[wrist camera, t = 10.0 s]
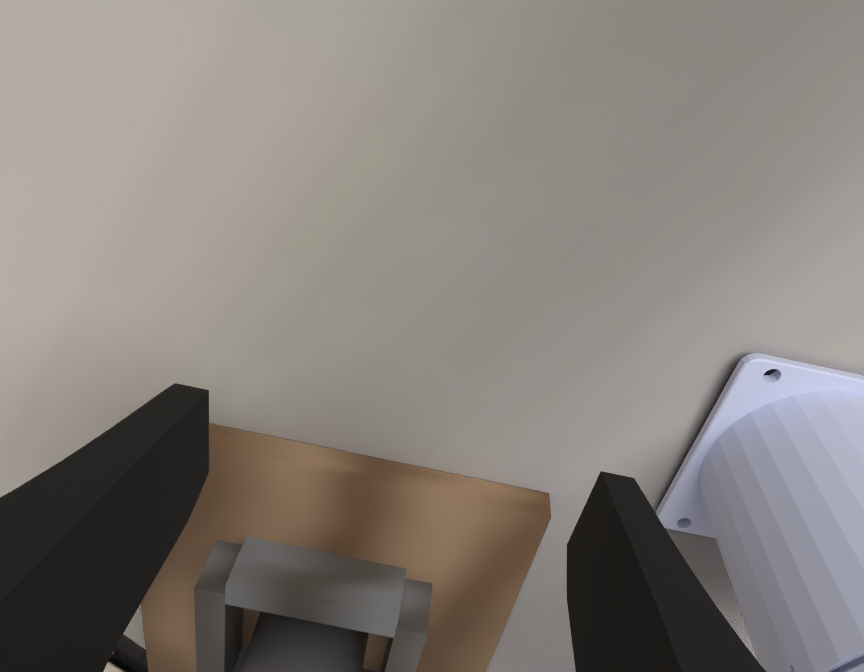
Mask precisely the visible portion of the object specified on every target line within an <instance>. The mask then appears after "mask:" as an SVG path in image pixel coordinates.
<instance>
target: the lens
mask: <svg viewBox="0 0 864 672" xmlns="http://www.w3.org/2000/svg"><path fill="white" fill-rule="evenodd" d="M368 636H369V633H367V632H362V631H357V630H352V629H347V628H342V627H337V626H332V625H327V624H322V623H317V622H312V621H307V620H302V619H297V618H292V617H287V616H282V615H277V614H272V613H267V612H262V611H261V612H260V615H259V618H258V620H257V623H256V626H255V629H254V632H253V635H252V638H251V640H250V643H249V646H248V649H247V652H246V655H245V658H244V660H243V663H242V666H241V669H240V672H362V669H363V663H364V658H365V652H366V647H367V641H368Z"/></svg>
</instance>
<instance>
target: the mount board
mask: <svg viewBox="0 0 864 672" xmlns="http://www.w3.org/2000/svg"><path fill="white" fill-rule="evenodd" d="M550 519H551V512H550V500H549V493H544V492H539V491H534V490H529V489H524V488H519V487H515V486H510V485H505V484H500V483H495V482H490V481H485V480H481V479H476V478H471V477H466V476H461V475H456V474H451V473H447V472H442V471H437V470H432V469H427V468H422V467H417V466H413V465H408V464H403V463H398V462H393V461H388V460H383V459H379V458H374V457H369V456H364V455H359V454H354V453H349V452H345V451H340V450H335V449H330V448H325V447H320V446H315V445H311V444H306V443H301V442H296V441H291V440H286V439H281V438H277V437H272V436H267V435H262V434H257V433H252V432H247V431H243V430H238V429H233V428H228V427H223V426H218V425H213V424H209V473H208V476H207V478H206V481H205V483H204V485H203V488H202V490H201V493H200V495H199V497H198V500H197V502H196V504H195V507H194V509H193V511H192V513H191V516H190V518H189V520H188V522H187V524H186V526H185V528H184V529H183V531H182V533H181V535H180V536H179V538H178V540H177V542H176V543H175V545H174V547H173V549H172V550H171V552H170V554H169V555H168V557H167V559H166V561H165V562H164V564H163V566H162V568H161V569H160V571H159V573H158V574H157V576H156V578H155V580H154V581H153V583H152V585H151V586H150V588H149V590H148V591H147V593H146V595H145V597H144V598H143V600H142V602H141V608H142V617H143V627H144V636H145V645H146V655H147V664H148V672H240V669H241V666H242V663H243V660H244V658H245V655H246V652H247V649H248V646H249V643H250V640H251V638H252V635H253V632H254V629H255V626H256V623H257V620H258V618H259V615H260V612H261V611H262V612H267V613H272V614H277V615H282V616H287V617H292V618H297V619H302V620H307V621H312V622H317V623H322V624H327V625H332V626H337V627H342V628H347V629H352V630H357V631H362V632H367V633H369V636H368V641H367V647H366V652H365V658H364V663H363V669H362V672H486V669H487V667H488V665H489V662H490V660H491V658H492V655H493V653H494V651H495V648H496V646H497V643H498V641H499V639H500V636H501V634H502V632H503V629H504V627H505V625H506V622H507V620H508V618H509V615H510V613H511V611H512V608H513V606H514V603H515V601H516V599H517V596H518V594H519V592H520V589H521V587H522V585H523V582H524V580H525V578H526V575H527V573H528V570H529V568H530V566H531V563H532V561H533V559H534V556H535V554H536V552H537V549H538V547H539V545H540V542H541V540H542V537H543V535H544V533H545V530H546V528H547V526H548V523H549V521H550Z"/></svg>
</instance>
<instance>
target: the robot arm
mask: <svg viewBox="0 0 864 672" xmlns="http://www.w3.org/2000/svg"><path fill="white" fill-rule="evenodd" d="M771 369H776V371H775V372H774V373H773V374H770V375H764V373H765V372H766V371H768V370H771ZM208 473H209V390H205V389H200V388H195V387H190V386H185V385H181V384H176V383H175V384H173V385H172V386H170V387H169V388H167V389H166V390H164V391H163V392H161V393H160V394H158V395H157V396H156V397H154V398H153V399H151V400H150V401H149V402H147V403H146V404H144V405H143V406H142V407H140V408H139V409H137V410H136V411H135V412H133V413H132V414H130V415H129V416H127V417H126V418H125V419H123V420H122V421H120V422H119V423H117V424H116V425H115V426H113V427H112V428H110V429H109V430H107V431H106V432H104V433H103V434H101V435H100V436H98V437H97V438H95V439H94V440H92V441H91V442H89V443H88V444H87V445H85V446H84V447H82V448H81V449H79V450H78V451H76V452H75V453H73V454H72V455H70V456H68V457H67V458H65V459H64V460H62V461H61V462H59V463H57V464H56V465H54V466H52V467H51V468H49V469H48V470H46V471H44V472H43V473H41V474H39V475H38V476H36V477H34V478H33V479H31V480H30V481H28V482H26V483H25V484H23V485H21V486H20V487H18V488H16V489H15V490H13V491H11V492H10V493H8V494H6V495H4V496H2V497H1V498H0V672H103V671H104V669H105V667H106V665H107V663H108V661H109V659H110V657H111V655H112V653H113V651H114V649H115V647H116V645H117V644H118V642H119V640H120V638H121V636H122V634H123V633H124V631H125V629H126V627H127V626H128V624H129V622H130V621H131V619H132V617H133V615H134V614H135V612H136V610H137V609H138V607H139V605H140V603H141V602H142V600H143V598H144V597H145V595H146V593H147V591H148V590H149V588H150V586H151V585H152V583H153V581H154V580H155V578H156V576H157V574H158V573H159V571H160V569H161V568H162V566H163V564H164V562H165V561H166V559H167V557H168V555H169V554H170V552H171V550H172V549H173V547H174V545H175V543H176V542H177V540H178V538H179V536H180V535H181V533H182V531H183V529H184V528H185V526H186V524H187V522H188V520H189V518H190V516H191V513H192V511H193V509H194V507H195V504H196V502H197V500H198V497H199V495H200V493H201V490H202V488H203V485H204V483H205V481H206V478H207V476H208ZM682 518H686V519H683V520H679V519H682ZM665 528H667V529H672V530H677V531H682V532H687V533H691V534H696V535H701V536H706V537H711V538H716V541H717V544H718V547H719V550H720V553H721V556H722V559H723V562H724V564H725V567H726V570H727V573H728V576H729V579H730V582H731V585H732V588H733V591H734V593H735V596H736V599H737V602H738V605H739V608H740V611H741V614H742V617H743V620H744V622H745V625H746V628H747V631H748V634H749V637H750V640H751V643H752V646H753V649H754V651H755V654H756V657H757V660H758V661H757V660H756V659H755V657H754V656H753V655H752V653H751V652H750V651H749V650H748V648H747V647H746V646H745V644H744V643H743V642H742V641H741V639H740V638H739V637H738V635H737V634H736V632H735V631H734V630H733V628H732V627H731V626H730V624H729V623H728V622H727V620H726V619H725V618H724V616H723V615H722V613H721V612H720V611H719V609H718V608H717V607H716V605H715V604H714V602H713V601H712V599H711V598H710V597H709V595H708V594H707V592H706V591H705V589H704V588H703V587H702V585H701V584H700V582H699V581H698V579H697V578H696V576H695V575H694V573H693V572H692V570H691V569H690V567H689V566H688V564H687V563H686V561H685V559H684V558H683V556H682V555H681V553H680V552H679V550H678V549H677V547H676V545H675V544H674V542H673V541H672V539H671V537H670V536H669V534H668V533H667V531H666V529H665ZM567 602H568V611H569V619H570V628H571V636H572V644H573V652H574V660H575V668H576V672H864V375H859V374H854V373H850V372H845V371H840V370H836V369H831V368H826V367H821V366H817V365H812V364H807V363H802V362H798V361H793V360H788V359H784V358H779V357H774V356H769V355H765V354H758V353H753V354H750V355H747V356H745V357H743V358H742V359H741V360H740V361H739V362H738V364H737V366H736V368H735V369H734V371H733V373H732V375H731V377H730V378H729V380H728V382H727V384H726V386H725V387H724V389H723V391H722V393H721V395H720V396H719V398H718V400H717V402H716V404H715V405H714V407H713V409H712V411H711V413H710V415H709V416H708V418H707V420H706V422H705V424H704V425H703V427H702V429H701V431H700V433H699V434H698V436H697V438H696V440H695V442H694V443H693V445H692V447H691V449H690V451H689V452H688V454H687V456H686V458H685V460H684V462H683V463H682V465H681V467H680V469H679V471H678V472H677V474H676V476H675V478H674V480H673V481H672V483H671V485H670V487H669V489H668V490H667V492H666V494H665V496H664V498H663V499H662V501H661V503H660V505H659V507H658V508H657V510H656V513H655V512H654V510H653V508H652V507H651V505H650V503H649V502H648V500H647V499H646V497H645V495H644V494H643V492H642V490H641V489H640V487H639V486H638V484H637V482H636V481H635V479H634V478H631V477H626V476H621V475H616V474H611V473H606V472H602V471H601V472H600V474H599V476H598V479H597V481H596V483H595V485H594V487H593V489H592V492H591V494H590V496H589V498H588V500H587V503H586V505H585V507H584V509H583V511H582V513H581V516H580V518H579V520H578V522H577V524H576V526H575V529H574V531H573V533H572V535H571V537H570V539H569V542H568V544H567Z"/></svg>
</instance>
